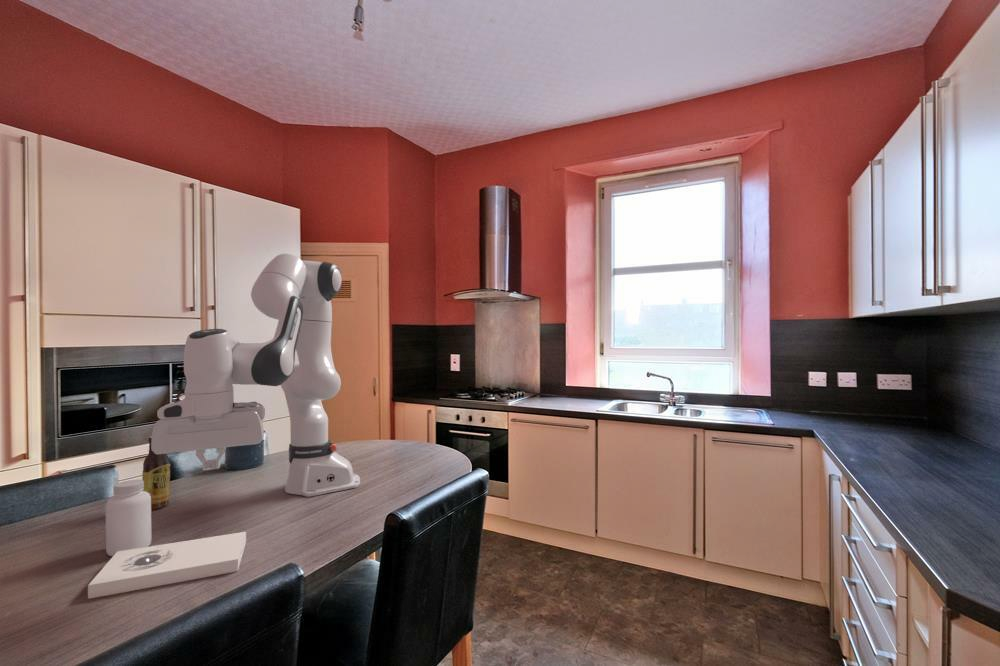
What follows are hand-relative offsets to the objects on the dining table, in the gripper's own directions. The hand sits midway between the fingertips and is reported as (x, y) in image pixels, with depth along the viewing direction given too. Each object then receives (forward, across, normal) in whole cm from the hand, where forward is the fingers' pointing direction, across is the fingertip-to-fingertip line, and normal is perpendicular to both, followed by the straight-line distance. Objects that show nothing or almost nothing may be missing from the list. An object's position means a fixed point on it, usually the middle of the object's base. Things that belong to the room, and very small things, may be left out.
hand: (211, 468), depth 96 cm
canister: (+21, +2, -78) cm, 81 cm away
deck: (+20, +7, 0) cm, 21 cm away
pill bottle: (+20, +19, -14) cm, 30 cm away
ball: (+18, +12, 0) cm, 22 cm away
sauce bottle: (+20, +20, -42) cm, 51 cm away
